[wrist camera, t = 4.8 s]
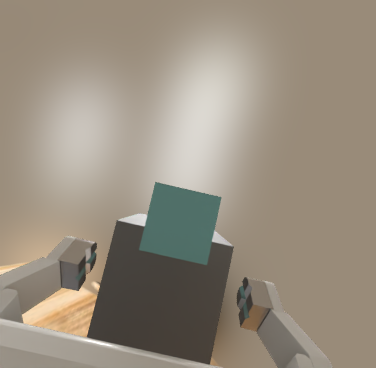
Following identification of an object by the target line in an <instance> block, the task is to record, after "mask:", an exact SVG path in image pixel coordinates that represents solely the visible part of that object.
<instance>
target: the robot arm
mask: <svg viewBox="0 0 376 368" xmlns="http://www.w3.org/2000/svg"><path fill="white" fill-rule="evenodd" d="M96 248H97V244H96V243H95V242H92V241H88V240H84V239H79V238H75V237H71V236H67V237H65V238H64V239H63V240H62V241H61V242H60V243H59V244H58V245H57V246H56V247H55V248H54V250H53V251H52V252H51V253H50V254H49V255H48V256H47V257H46V258H45V257H42V258H40V259H37V260H35V261H32V262H30V263H28V264H25V265H23V266H20V267H18V268H16V269H13V270H11V271H9V272H6V273H4V274H1V275H0V368H222V367H218V366H213V365H209V364H204V363H200V362H195V361H191V360H186V359H182V358H177V357H173V356H168V355H164V354H159V353H154V352H150V351H145V350H141V349H136V348H132V347H127V346H123V345H118V344H114V343H109V342H105V341H100V340H96V339H91V338H86V337H82V336H77V335H73V334H68V333H64V332H59V331H55V330H50V329H46V328H41V327H37V326H32V325H28V324H24V323H23V318H22V314H24V313H25V312H27V311H28V310H30V309H31V308H33V307H34V306H36V305H37V304H39V303H40V302H42V301H43V300H45V299H46V298H48V297H49V296H51V295H52V294H54V293H55V292H57V291H58V290H60V289H61V288H66V289H72V290H77V291H79V289H80V288H81V286H82V284H83V283H84V281H85V279H86V274H88V273H90V272H91V270H92V268H93V266H94V264H95V261H96V253H95V252H94V251H95V250H96ZM237 306H238V307H239V309H240V310H241V311H240V313H239V320H240V327H241V328H245V329H249V330H253V331H257V334H258V336H259V337H260V339H261V341H262V342H263V344H264V346H265V347H266V349H267V351H268V352H269V354H270V356H271V357H272V359H273V360H274V362H275V364H276V365H277V367H278V368H333V367H332V365H331V363H330V361H329V359H328V358H327V357H326V356H325V355H324V353H323V352H322V351H321V350H320V349H319V348H318V347H317V346H316V345H315V344H314V342H313V341H312V340H311V339H310V338H309V337H308V336H307V335H306V334H305V333H304V331H303V330H302V329H301V328H300V327H299V326H298V325H297V323H296V322H295V321H294V320H293V319H292V318H291V317H290V316H289V315H288V313H286V312H284V310H283V307H282V304H281V301H280V299H279V296H278V293H277V290H276V287H275V285H274V284H273V283H271V282H266V281H262V280H257V279H253V278H248V277H245V278H244V280H243V286H241V287H240V288H239V290H238V293H237Z"/></svg>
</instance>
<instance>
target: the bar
mask: <svg viewBox="0 0 376 368" xmlns="http://www.w3.org/2000/svg"><path fill="white" fill-rule="evenodd" d="M220 201H221V197H218V196H213V195H209V194H205V193H200V192H196V191H192V190H187V189H182V188H179V187H174V186H170V185H166V184H161V183H157V182H155V186H154V190H153V194H152V198H151V203H150V207H149V211H148V215H147V219H146V223H145V227H144V231H143V235H142V239H141V243H140V248H139V250H141V251H146V252H150V253H155V254H159V255H164V256H168V257H173V258H177V259H182V260H186V261H191V262H195V263H200V264H204V265H207V262H208V258H209V253H210V248H211V244H212V239H213V234H214V230H215V225H216V220H217V216H218V210H219V206H220Z"/></svg>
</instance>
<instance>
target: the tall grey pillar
mask: <svg viewBox="0 0 376 368" xmlns="http://www.w3.org/2000/svg"><path fill="white" fill-rule="evenodd" d="M146 219H147V215H145V214H140V213H139V214H136V215H133V216H130V217H126V218H123V219H119V220H117V222H116V226H115V230H114V234H113V238H112V242H111V245H110V250H109V253H108V257H107V261H106V265H105V269H104V273H103V277H102V280H101V284H100V288H99V292H98V296H97V300H96V304H95V308H94V312H93V316H92V319H91V323H90V327H89V331H88V335H87V338H91V339H96V340H100V341H105V342H109V343H114V344H118V345H123V346H127V347H132V348H136V349H141V350H145V351H150V352H154V353H159V354H164V355H168V356H173V357H177V358H182V359H186V360H191V361H195V362H200V363H204V364H209V365H210V361H211V356H212V351H213V346H214V341H215V336H216V331H217V326H218V321H219V316H220V312H221V306H222V302H223V297H224V292H225V287H226V282H227V277H228V272H229V267H230V263H231V257H232V253H233V248H234V247H233V246H232V245H231V244H230V243H229V242H228V241H226V240H225V239H224V238H223V237H222V236H220V235H219V234H218V233H217V232H216V231H214V234H213V239H212V244H211V248H210V253H209V258H208V262H207V265H204V264H200V263H195V262H191V261H186V260H182V259H177V258H173V257H168V256H164V255H159V254H155V253H150V252H146V251H141V250H139V248H140V243H141V239H142V235H143V231H144V227H145V223H146Z"/></svg>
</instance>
